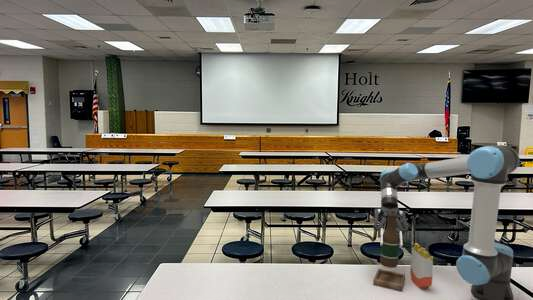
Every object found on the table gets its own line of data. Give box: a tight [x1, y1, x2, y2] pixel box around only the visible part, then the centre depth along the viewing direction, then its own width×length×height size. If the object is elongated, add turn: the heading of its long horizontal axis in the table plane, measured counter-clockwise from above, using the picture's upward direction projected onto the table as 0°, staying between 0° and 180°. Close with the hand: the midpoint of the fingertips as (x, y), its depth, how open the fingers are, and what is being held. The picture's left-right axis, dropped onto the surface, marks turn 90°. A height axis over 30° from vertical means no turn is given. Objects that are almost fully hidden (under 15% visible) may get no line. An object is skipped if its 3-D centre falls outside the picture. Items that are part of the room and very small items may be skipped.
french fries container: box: [409, 242, 434, 289], centre depth 157 cm, size 5×11×18 cm, turn 5°
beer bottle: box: [379, 212, 400, 269], centre depth 158 cm, size 8×8×24 cm
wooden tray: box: [372, 268, 406, 293], centre depth 160 cm, size 12×12×2 cm
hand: (391, 245), depth 155 cm, fingers closed on beer bottle, 7 cm apart
